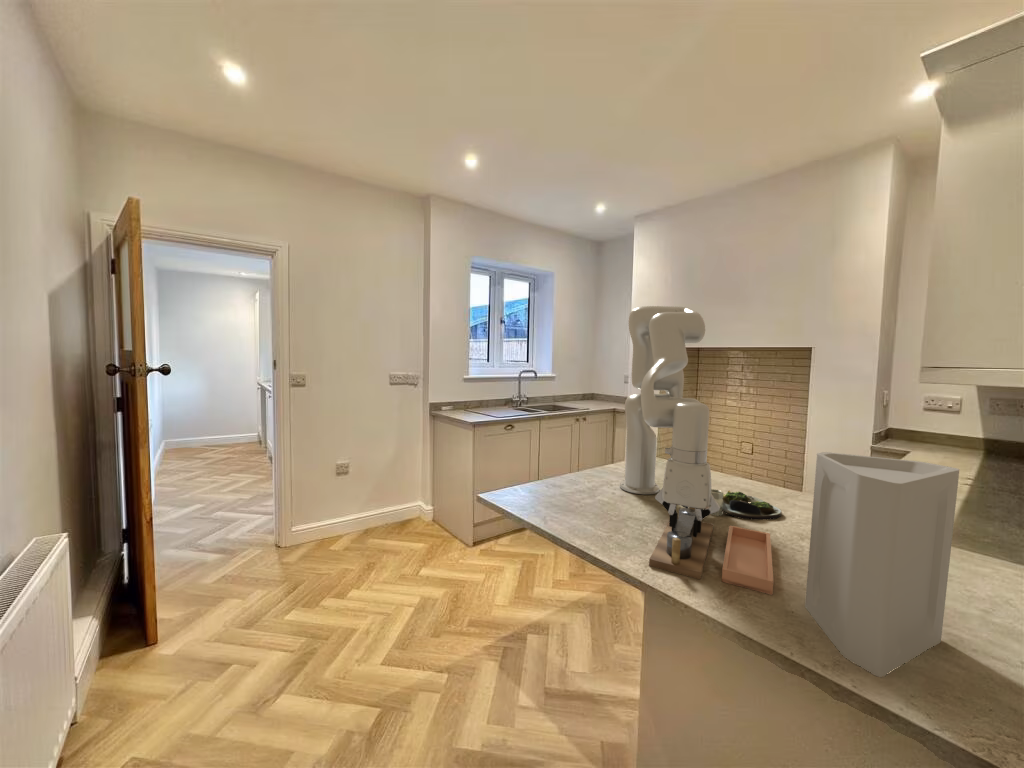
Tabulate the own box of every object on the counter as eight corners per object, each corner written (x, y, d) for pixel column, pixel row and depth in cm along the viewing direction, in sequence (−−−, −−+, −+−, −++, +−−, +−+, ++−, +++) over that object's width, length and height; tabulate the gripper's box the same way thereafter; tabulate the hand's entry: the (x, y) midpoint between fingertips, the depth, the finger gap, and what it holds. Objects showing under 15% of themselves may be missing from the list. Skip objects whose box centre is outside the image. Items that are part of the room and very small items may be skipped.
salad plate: (692, 496, 132) (693, 482, 132) (746, 496, 134) (747, 482, 133) (729, 521, 113) (730, 505, 113) (791, 520, 115) (792, 504, 114)
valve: (709, 508, 122) (680, 515, 116) (710, 486, 121) (682, 492, 115) (730, 516, 116) (701, 524, 110) (731, 493, 115) (702, 500, 110)
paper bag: (838, 591, 80) (850, 448, 78) (943, 640, 67) (962, 469, 64) (775, 616, 72) (786, 457, 69) (880, 678, 58) (899, 484, 56)
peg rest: (671, 520, 112) (673, 497, 111) (713, 529, 107) (714, 505, 106) (649, 565, 88) (650, 536, 88) (700, 579, 83) (702, 548, 83)
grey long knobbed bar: (679, 521, 108) (680, 506, 107) (700, 526, 105) (701, 510, 105) (664, 555, 90) (665, 537, 89) (689, 561, 87) (690, 543, 87)
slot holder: (728, 535, 104) (729, 525, 103) (769, 543, 99) (770, 533, 99) (721, 581, 83) (722, 569, 82) (772, 595, 78) (773, 581, 78)
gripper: (647, 453, 97) (644, 529, 98) (728, 465, 88) (723, 548, 90) (654, 447, 103) (651, 519, 105) (730, 457, 95) (725, 535, 96)
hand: (684, 531), depth 97 cm, fingers open, 4 cm apart
